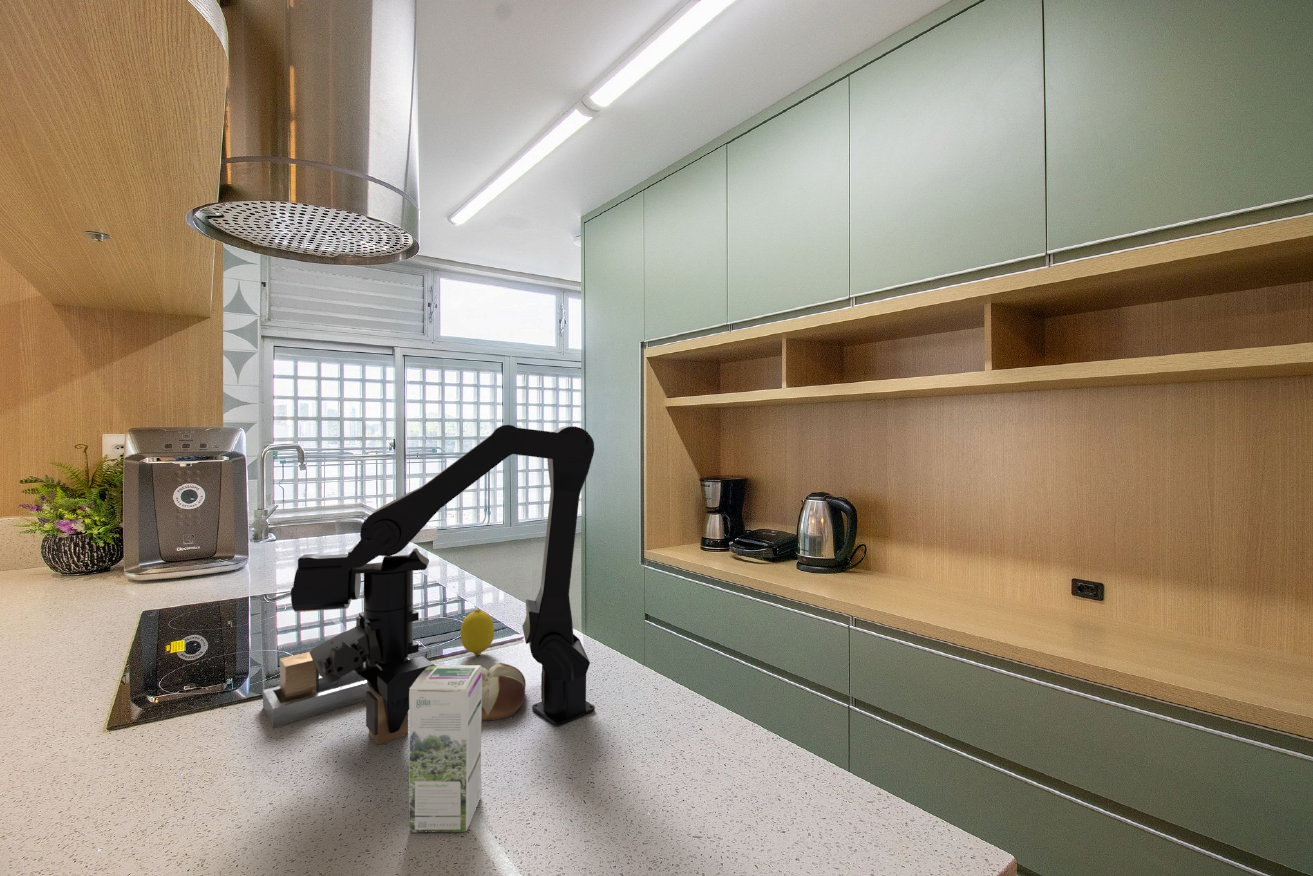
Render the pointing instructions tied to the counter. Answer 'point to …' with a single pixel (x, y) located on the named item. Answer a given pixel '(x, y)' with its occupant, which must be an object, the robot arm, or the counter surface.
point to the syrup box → (445, 748)
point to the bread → (501, 691)
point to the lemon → (477, 632)
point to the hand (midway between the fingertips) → (388, 725)
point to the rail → (315, 701)
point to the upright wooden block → (380, 719)
